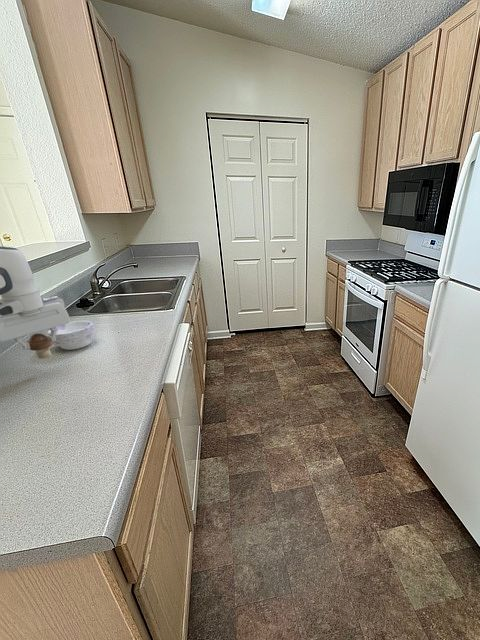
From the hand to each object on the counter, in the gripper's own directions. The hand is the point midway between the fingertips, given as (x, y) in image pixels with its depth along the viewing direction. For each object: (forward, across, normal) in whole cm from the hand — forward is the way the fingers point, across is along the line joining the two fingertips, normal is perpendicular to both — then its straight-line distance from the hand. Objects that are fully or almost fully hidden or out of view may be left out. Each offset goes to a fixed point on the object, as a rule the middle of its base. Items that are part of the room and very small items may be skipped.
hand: (40, 345), depth 105 cm
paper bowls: (+11, -18, -18) cm, 27 cm away
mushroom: (+4, 0, 0) cm, 4 cm away
